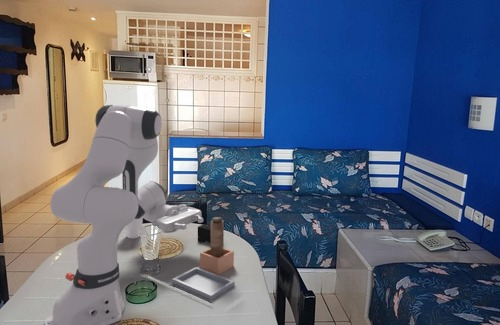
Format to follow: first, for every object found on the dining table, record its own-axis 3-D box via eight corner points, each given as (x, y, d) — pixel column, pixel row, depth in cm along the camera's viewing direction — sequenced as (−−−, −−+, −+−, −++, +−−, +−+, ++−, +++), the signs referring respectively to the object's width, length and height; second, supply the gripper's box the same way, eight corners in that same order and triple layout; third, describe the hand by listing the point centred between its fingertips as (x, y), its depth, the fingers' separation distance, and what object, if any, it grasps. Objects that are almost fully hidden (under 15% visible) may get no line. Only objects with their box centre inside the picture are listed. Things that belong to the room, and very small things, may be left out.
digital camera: (223, 242, 175) (223, 227, 173) (216, 246, 170) (216, 231, 169) (205, 237, 180) (205, 223, 179) (197, 241, 176) (197, 226, 174)
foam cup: (128, 231, 185) (127, 205, 183) (147, 232, 184) (146, 206, 182) (119, 238, 176) (118, 211, 174) (139, 240, 175) (138, 212, 173)
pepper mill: (217, 271, 145) (217, 221, 142) (207, 267, 148) (208, 218, 144) (225, 266, 149) (226, 218, 145) (216, 263, 152) (216, 215, 148)
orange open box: (218, 277, 143) (218, 259, 141) (200, 270, 148) (200, 252, 146) (233, 268, 150) (233, 251, 148) (215, 262, 155) (215, 245, 154)
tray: (211, 302, 126) (211, 295, 125) (172, 285, 136) (172, 278, 135) (234, 288, 135) (234, 281, 135) (196, 273, 145) (196, 266, 145)
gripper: (149, 215, 152) (173, 223, 144) (186, 203, 168) (210, 209, 160) (149, 231, 153) (174, 239, 146) (187, 217, 170) (211, 224, 162)
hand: (193, 223), depth 153 cm, fingers open, 8 cm apart
